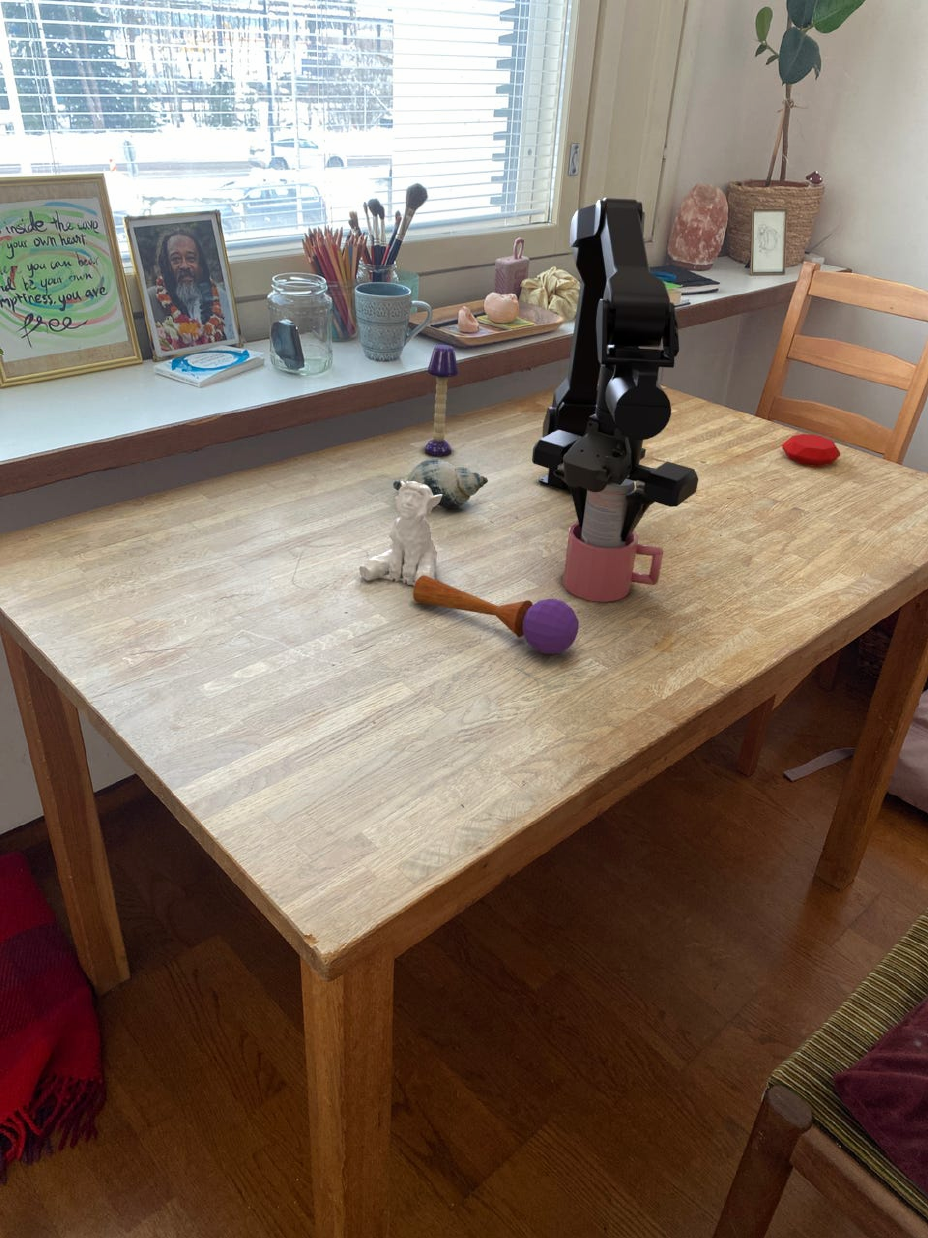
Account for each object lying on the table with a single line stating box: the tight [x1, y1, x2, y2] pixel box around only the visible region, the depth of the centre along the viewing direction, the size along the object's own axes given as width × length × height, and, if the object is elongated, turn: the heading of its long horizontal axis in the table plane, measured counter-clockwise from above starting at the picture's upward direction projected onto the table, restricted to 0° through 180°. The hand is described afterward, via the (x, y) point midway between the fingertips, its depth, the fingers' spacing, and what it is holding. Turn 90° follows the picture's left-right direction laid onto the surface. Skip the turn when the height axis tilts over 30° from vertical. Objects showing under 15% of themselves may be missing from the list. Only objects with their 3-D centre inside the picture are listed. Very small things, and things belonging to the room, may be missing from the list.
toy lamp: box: [424, 344, 459, 457], centre depth 146 cm, size 5×5×17 cm
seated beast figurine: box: [359, 480, 442, 586], centre depth 112 cm, size 10×9×12 cm
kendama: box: [412, 575, 580, 655], centre depth 104 cm, size 6×6×20 cm
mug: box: [562, 521, 665, 603], centre depth 114 cm, size 11×8×7 cm
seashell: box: [392, 457, 489, 509], centre depth 132 cm, size 6×8×12 cm
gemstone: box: [781, 433, 841, 468], centre depth 156 cm, size 9×9×3 cm
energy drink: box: [581, 479, 636, 548], centre depth 112 cm, size 5×5×12 cm
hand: (603, 533), depth 112 cm, fingers closed on energy drink, 5 cm apart
